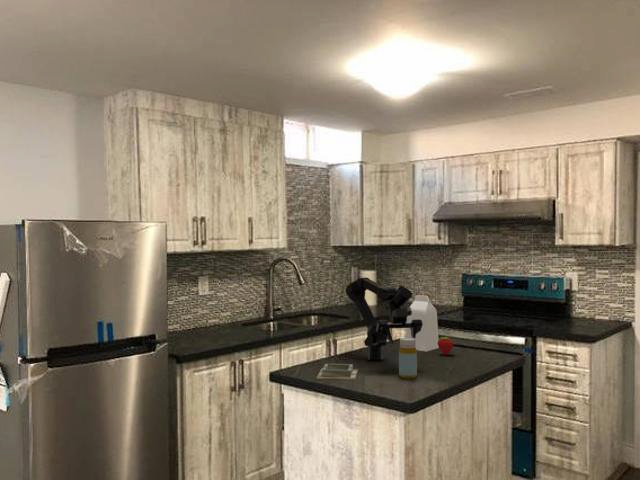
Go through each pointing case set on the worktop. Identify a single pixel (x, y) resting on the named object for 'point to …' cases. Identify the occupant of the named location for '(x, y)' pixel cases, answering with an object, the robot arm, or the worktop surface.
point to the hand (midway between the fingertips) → (403, 343)
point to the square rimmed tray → (338, 372)
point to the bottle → (407, 358)
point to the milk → (424, 324)
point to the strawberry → (445, 345)
